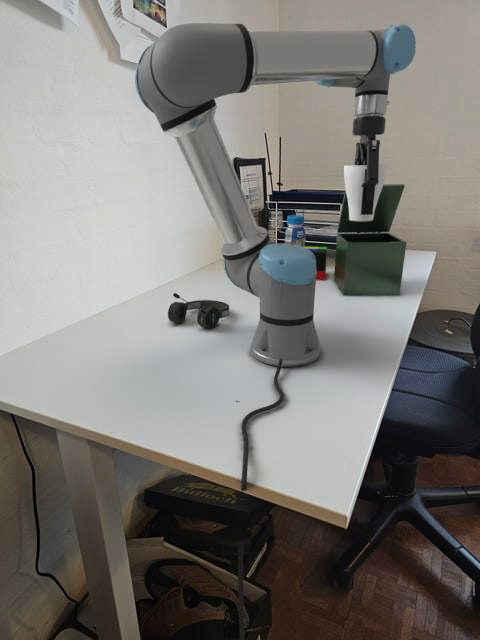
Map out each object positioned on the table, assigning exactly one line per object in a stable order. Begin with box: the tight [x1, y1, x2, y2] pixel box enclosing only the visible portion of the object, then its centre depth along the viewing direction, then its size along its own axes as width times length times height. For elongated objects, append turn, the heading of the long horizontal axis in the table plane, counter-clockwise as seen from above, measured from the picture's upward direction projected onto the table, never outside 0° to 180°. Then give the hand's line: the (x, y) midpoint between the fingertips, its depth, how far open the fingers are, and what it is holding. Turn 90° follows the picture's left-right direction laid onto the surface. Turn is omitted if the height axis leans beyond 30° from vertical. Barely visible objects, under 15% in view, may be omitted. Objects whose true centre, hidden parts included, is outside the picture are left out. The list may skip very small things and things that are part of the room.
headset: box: [167, 292, 230, 329], centre depth 108 cm, size 14×10×20 cm
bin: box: [333, 232, 407, 296], centre depth 132 cm, size 18×18×17 cm
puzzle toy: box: [304, 246, 328, 281], centre depth 148 cm, size 10×10×10 cm
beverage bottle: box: [284, 214, 306, 247], centre depth 163 cm, size 8×8×20 cm
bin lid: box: [336, 183, 406, 234], centre depth 132 cm, size 18×18×8 cm
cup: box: [343, 164, 388, 222], centre depth 103 cm, size 10×10×14 cm
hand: (361, 211), depth 105 cm, fingers closed on cup, 10 cm apart
